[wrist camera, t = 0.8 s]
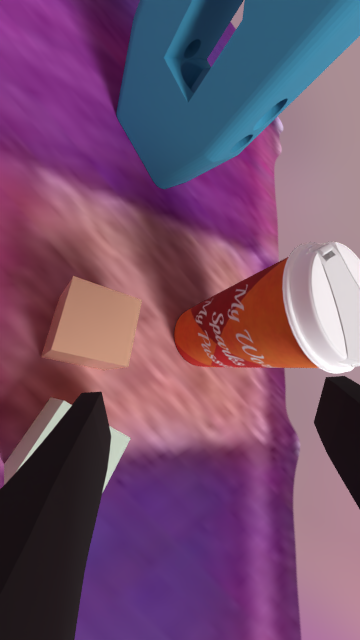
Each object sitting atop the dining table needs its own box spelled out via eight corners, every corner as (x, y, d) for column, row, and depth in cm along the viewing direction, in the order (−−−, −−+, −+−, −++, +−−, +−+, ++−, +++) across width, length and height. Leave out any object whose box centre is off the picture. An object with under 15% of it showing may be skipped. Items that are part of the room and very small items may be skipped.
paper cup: (149, 317, 24) (284, 254, 13) (208, 286, 28) (349, 219, 17) (188, 395, 25) (352, 405, 13) (241, 354, 29) (399, 334, 17)
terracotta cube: (103, 370, 21) (128, 367, 17) (40, 357, 19) (51, 349, 15) (116, 315, 23) (141, 300, 19) (59, 297, 21) (73, 275, 16)
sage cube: (68, 492, 19) (86, 523, 14) (3, 464, 17) (4, 489, 13) (104, 427, 21) (130, 438, 16) (50, 396, 19) (63, 400, 15)
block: (102, 91, 26) (273, -415, 10) (142, 89, 29) (329, -308, 12) (168, 207, 28) (414, -59, 11) (200, 194, 30) (436, -33, 14)
